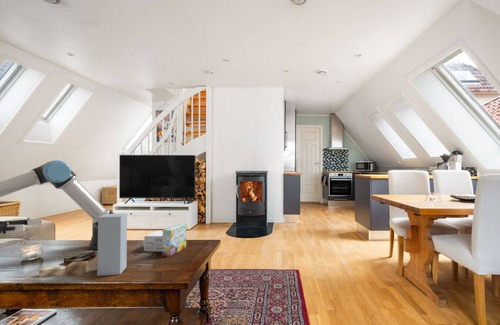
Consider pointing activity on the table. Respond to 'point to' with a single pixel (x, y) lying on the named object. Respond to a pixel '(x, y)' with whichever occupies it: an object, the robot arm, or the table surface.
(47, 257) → the table surface
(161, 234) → the supplement box
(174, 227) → the snack box
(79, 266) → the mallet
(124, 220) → the slate column
